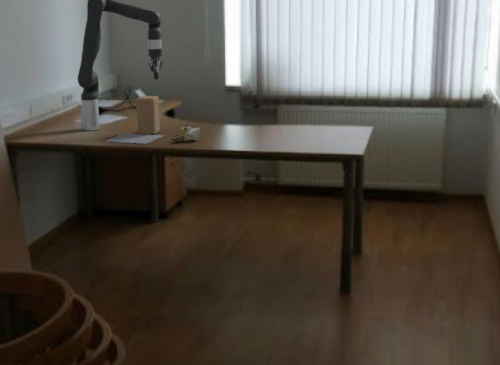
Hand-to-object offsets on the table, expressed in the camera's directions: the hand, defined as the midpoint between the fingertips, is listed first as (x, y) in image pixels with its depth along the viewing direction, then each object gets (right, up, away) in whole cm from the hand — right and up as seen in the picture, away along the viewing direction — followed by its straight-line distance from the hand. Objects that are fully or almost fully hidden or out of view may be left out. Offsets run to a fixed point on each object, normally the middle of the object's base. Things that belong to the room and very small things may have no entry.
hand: (156, 79), depth 438 cm
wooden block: (-4, -31, -4) cm, 31 cm away
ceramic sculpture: (+19, -36, -25) cm, 48 cm away
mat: (-9, -34, -19) cm, 41 cm away
